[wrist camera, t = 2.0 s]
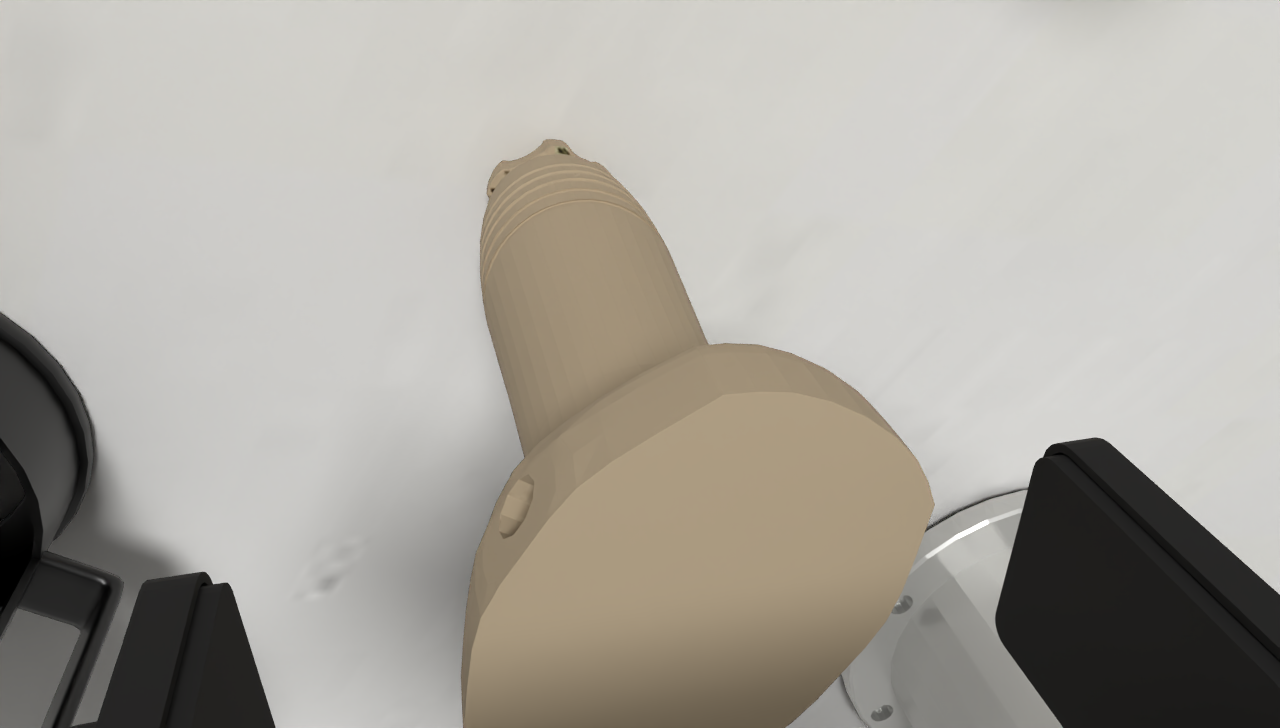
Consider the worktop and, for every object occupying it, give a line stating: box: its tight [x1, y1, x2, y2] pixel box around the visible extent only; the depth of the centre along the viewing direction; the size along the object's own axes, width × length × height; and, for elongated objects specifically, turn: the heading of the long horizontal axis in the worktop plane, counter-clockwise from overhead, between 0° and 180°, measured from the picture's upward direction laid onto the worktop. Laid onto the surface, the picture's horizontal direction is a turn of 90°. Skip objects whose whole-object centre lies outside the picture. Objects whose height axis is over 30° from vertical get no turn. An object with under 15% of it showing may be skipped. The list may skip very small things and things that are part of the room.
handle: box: [461, 139, 935, 728], centre depth 18 cm, size 5×6×15 cm
